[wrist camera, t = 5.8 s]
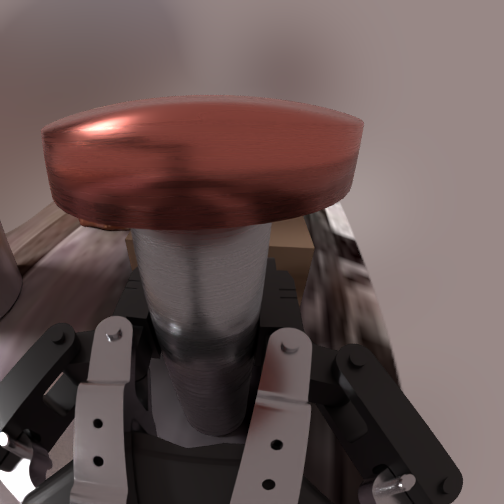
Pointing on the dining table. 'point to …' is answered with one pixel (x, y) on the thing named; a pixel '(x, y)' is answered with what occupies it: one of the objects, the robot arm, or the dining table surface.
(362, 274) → the dining table surface
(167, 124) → the copper-capped metal peg
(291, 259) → the brown striped block
